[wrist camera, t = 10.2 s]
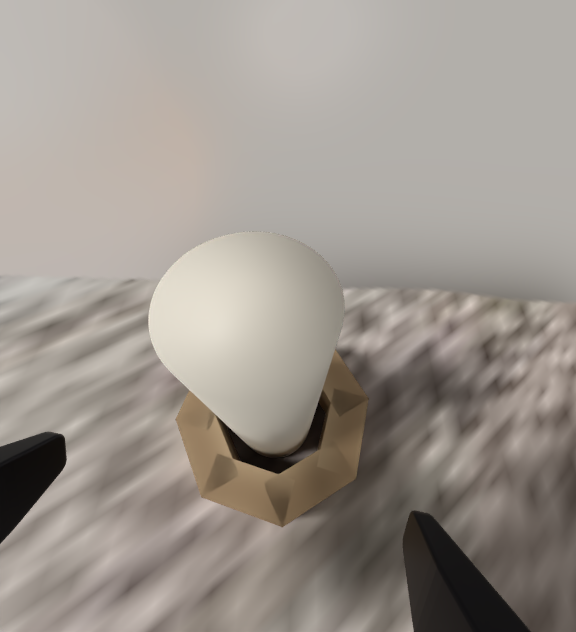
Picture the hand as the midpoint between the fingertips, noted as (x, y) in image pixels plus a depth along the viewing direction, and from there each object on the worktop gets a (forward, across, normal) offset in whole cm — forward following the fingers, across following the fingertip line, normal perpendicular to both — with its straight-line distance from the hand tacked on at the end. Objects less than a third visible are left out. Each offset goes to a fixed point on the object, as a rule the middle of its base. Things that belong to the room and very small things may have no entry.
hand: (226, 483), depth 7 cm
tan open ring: (+11, 0, +5) cm, 12 cm away
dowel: (+11, 0, +5) cm, 12 cm away
